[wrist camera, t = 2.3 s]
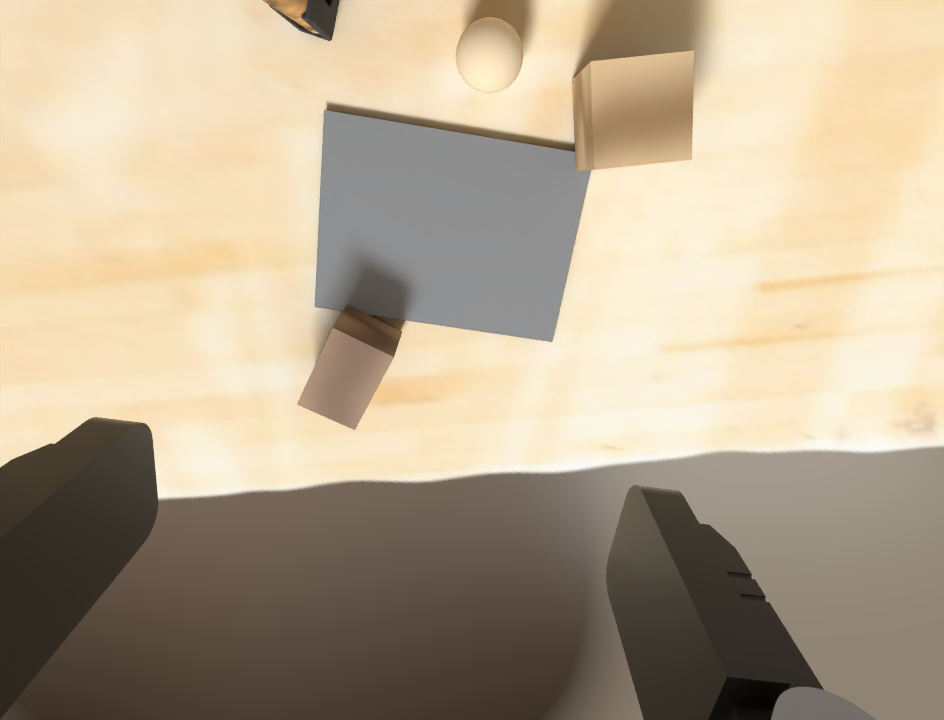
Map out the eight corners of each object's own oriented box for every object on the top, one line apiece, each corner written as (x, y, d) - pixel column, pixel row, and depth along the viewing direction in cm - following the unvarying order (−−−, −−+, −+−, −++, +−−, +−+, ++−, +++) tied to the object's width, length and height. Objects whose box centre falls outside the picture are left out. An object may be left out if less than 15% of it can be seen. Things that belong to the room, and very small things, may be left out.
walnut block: (314, 375, 39) (296, 404, 35) (347, 304, 36) (332, 327, 33) (366, 399, 40) (354, 430, 36) (402, 331, 37) (393, 357, 34)
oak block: (572, 79, 32) (590, 61, 27) (659, 70, 32) (694, 50, 27) (575, 171, 33) (593, 169, 28) (659, 162, 33) (691, 159, 28)
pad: (325, 110, 32) (324, 110, 32) (592, 154, 33) (594, 155, 33) (316, 305, 37) (314, 306, 37) (551, 339, 38) (552, 341, 37)
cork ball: (461, 18, 31) (460, 4, 27) (525, 29, 31) (531, 17, 28) (452, 89, 32) (450, 84, 29) (514, 100, 32) (518, 96, 29)
